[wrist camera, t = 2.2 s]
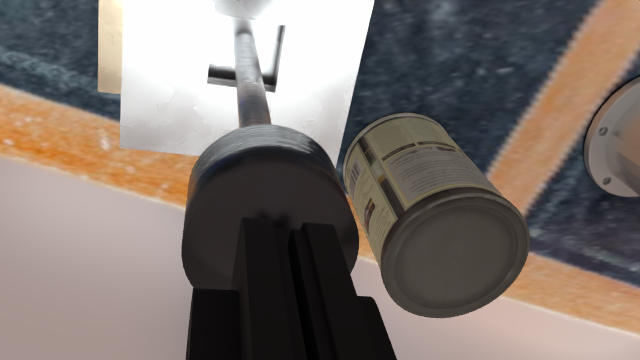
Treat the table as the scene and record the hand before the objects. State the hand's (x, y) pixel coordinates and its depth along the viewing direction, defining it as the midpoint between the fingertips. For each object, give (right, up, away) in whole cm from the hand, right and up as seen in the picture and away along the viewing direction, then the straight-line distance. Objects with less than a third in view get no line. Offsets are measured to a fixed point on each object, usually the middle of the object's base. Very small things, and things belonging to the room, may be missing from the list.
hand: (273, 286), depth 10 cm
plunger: (-3, +8, +15) cm, 18 cm away
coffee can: (+8, +3, +39) cm, 40 cm away
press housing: (-5, +16, +29) cm, 34 cm away
